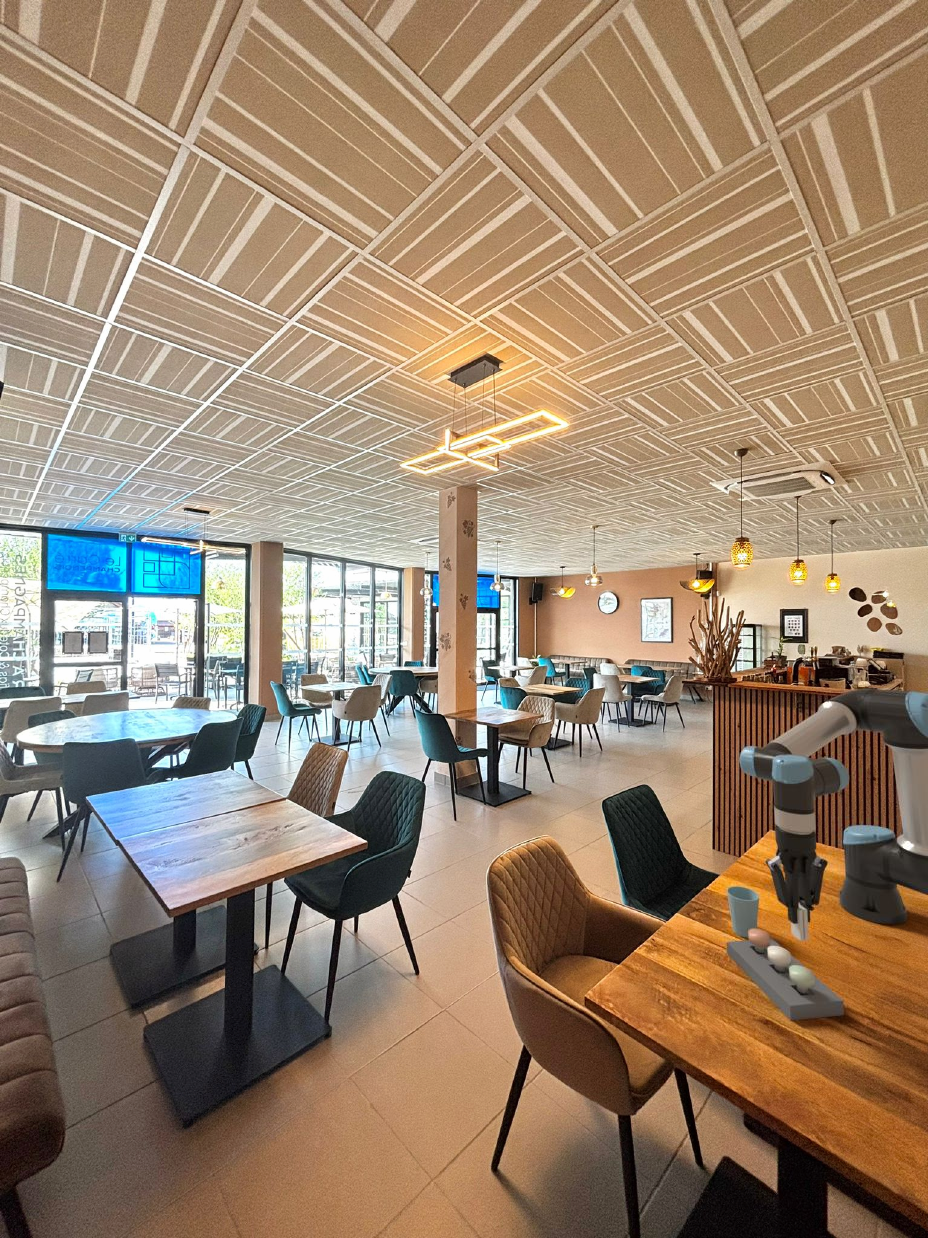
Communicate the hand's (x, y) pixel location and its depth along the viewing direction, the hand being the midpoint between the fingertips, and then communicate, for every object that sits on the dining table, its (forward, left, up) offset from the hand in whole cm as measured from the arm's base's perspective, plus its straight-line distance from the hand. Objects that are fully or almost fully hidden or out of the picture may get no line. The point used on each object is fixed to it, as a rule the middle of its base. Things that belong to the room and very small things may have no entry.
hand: (799, 937), depth 111 cm
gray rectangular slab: (0, -7, -14) cm, 16 cm away
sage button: (0, 0, -11) cm, 11 cm away
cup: (-4, -26, -15) cm, 30 cm away
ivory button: (0, -7, -11) cm, 13 cm away
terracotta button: (0, -14, -11) cm, 18 cm away
